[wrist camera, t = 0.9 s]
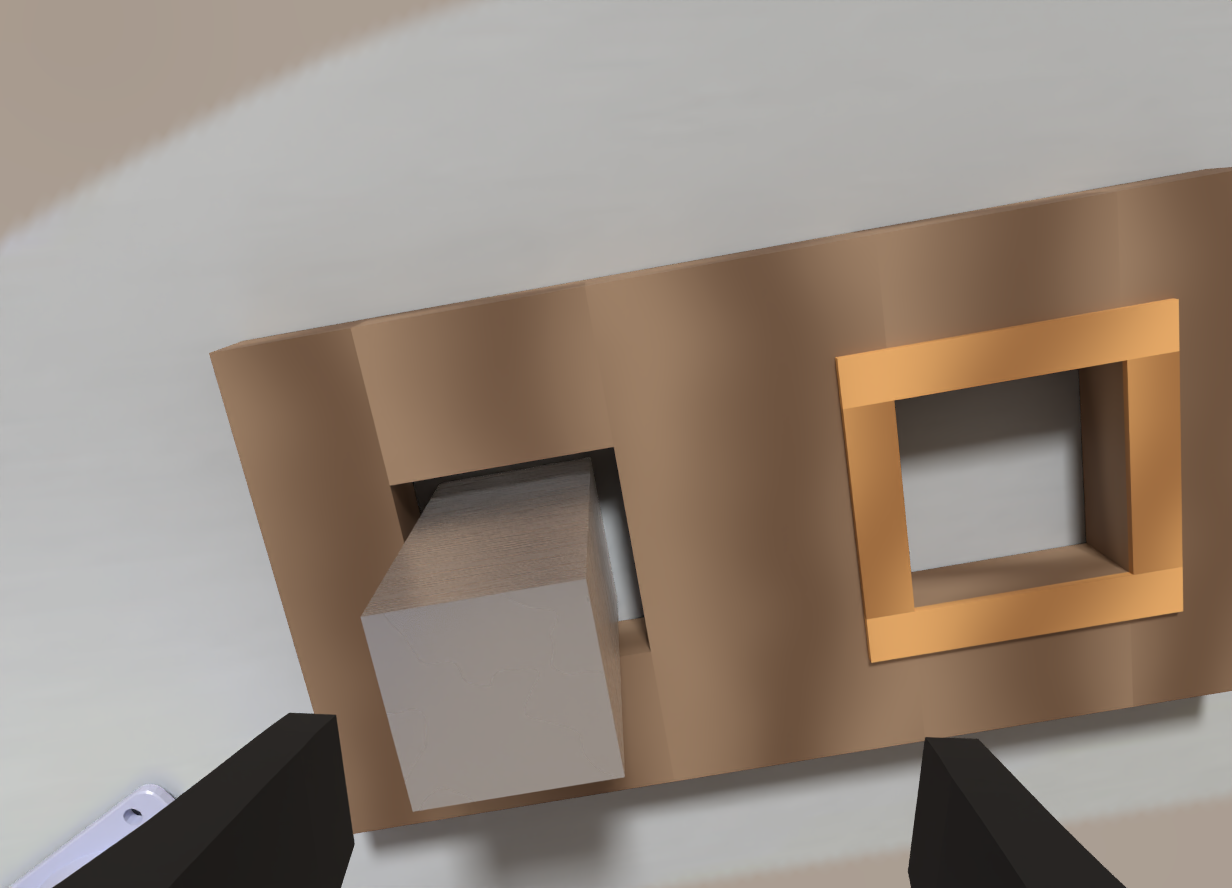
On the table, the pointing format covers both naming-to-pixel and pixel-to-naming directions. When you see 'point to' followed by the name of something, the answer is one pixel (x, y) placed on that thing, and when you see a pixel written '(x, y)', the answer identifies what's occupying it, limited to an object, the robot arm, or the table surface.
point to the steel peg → (502, 639)
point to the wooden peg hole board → (789, 478)
